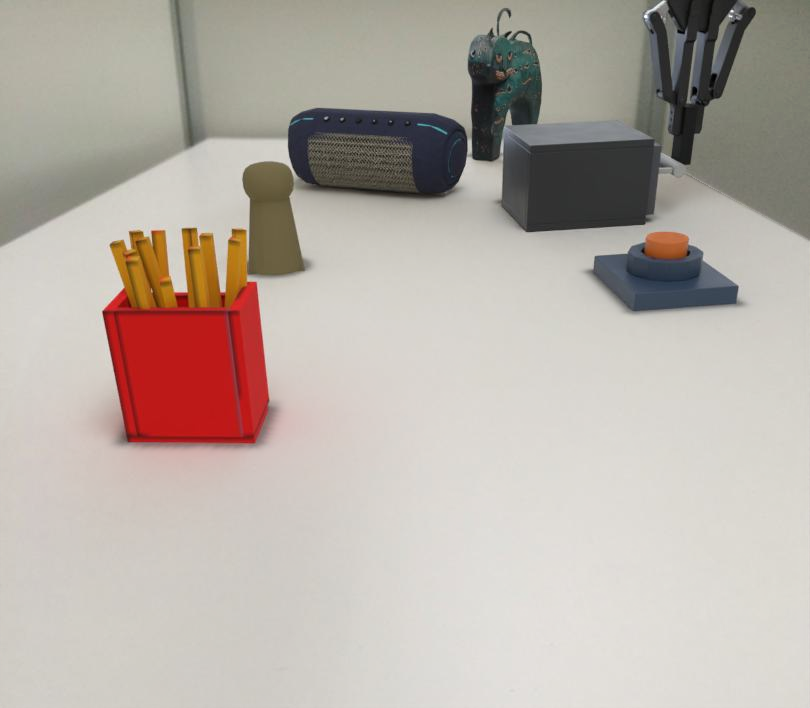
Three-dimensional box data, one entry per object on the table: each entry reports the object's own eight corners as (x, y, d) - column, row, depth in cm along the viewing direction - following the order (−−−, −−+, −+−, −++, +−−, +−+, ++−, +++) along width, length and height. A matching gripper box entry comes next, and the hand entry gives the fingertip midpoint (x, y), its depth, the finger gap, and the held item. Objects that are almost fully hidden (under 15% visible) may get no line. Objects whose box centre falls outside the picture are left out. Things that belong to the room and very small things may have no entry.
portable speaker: (278, 190, 134) (271, 112, 128) (311, 175, 141) (306, 101, 136) (448, 204, 125) (448, 122, 120) (473, 187, 133) (475, 108, 127)
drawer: (653, 190, 126) (661, 126, 121) (688, 212, 116) (697, 143, 112) (520, 198, 124) (523, 133, 119) (544, 221, 114) (548, 151, 110)
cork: (274, 259, 107) (264, 154, 101) (316, 268, 104) (308, 160, 98) (236, 274, 103) (223, 165, 97) (278, 283, 100) (268, 172, 94)
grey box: (610, 198, 126) (618, 119, 121) (645, 224, 116) (654, 138, 110) (501, 205, 124) (504, 125, 119) (526, 232, 114) (530, 145, 109)
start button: (677, 248, 95) (679, 230, 94) (693, 260, 92) (695, 241, 91) (637, 250, 94) (639, 232, 94) (652, 263, 91) (655, 244, 90)
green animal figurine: (493, 164, 145) (497, 12, 134) (455, 160, 148) (456, 11, 137) (546, 140, 159) (554, 1, 148) (511, 137, 162) (516, 1, 151)
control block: (685, 270, 101) (690, 231, 98) (735, 308, 91) (742, 266, 88) (592, 276, 99) (595, 237, 97) (633, 316, 89) (637, 274, 87)
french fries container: (154, 408, 75) (122, 224, 67) (271, 408, 74) (252, 223, 67) (127, 450, 69) (88, 254, 61) (254, 451, 68) (231, 253, 61)
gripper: (749, -67, 110) (717, 153, 123) (639, -63, 108) (619, 159, 121) (780, -66, 103) (744, 166, 116) (664, -62, 102) (640, 172, 115)
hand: (680, 162), depth 119 cm, fingers closed
